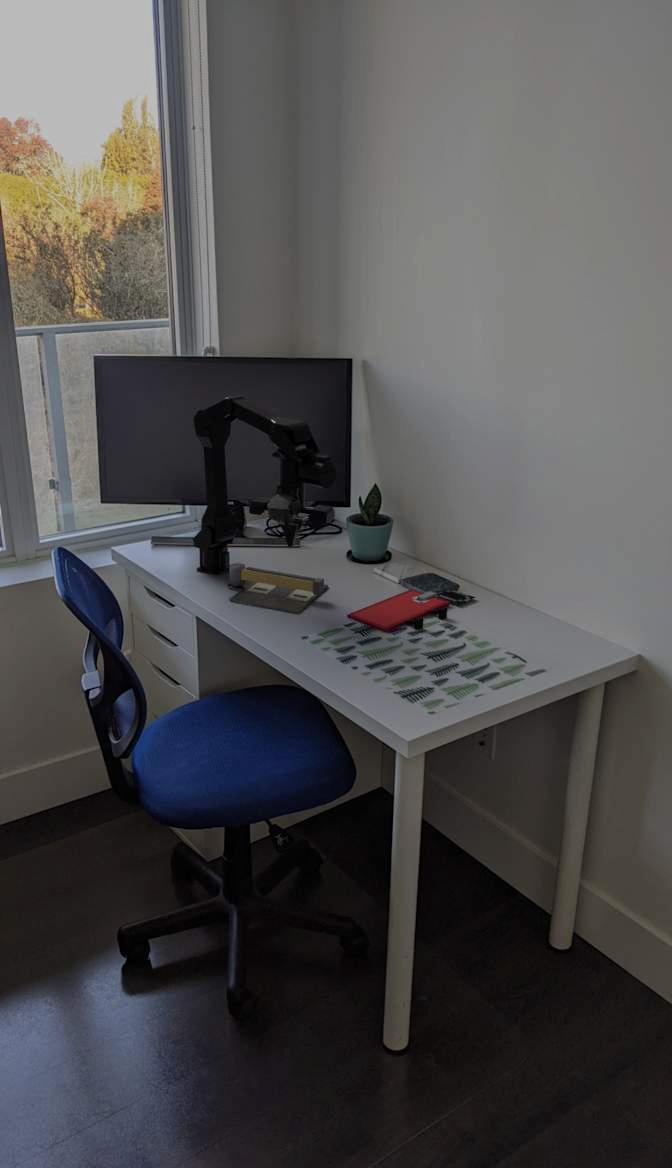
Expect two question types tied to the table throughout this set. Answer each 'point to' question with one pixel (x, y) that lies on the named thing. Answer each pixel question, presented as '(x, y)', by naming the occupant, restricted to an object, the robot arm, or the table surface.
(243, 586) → the panel
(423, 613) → the red board with handle
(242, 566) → the swing arm
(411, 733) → the table surface
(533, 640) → the table surface
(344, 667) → the table surface
